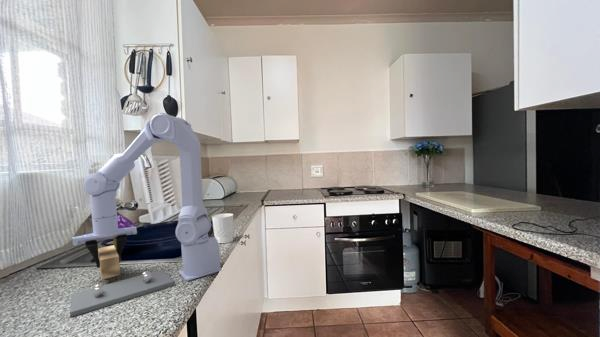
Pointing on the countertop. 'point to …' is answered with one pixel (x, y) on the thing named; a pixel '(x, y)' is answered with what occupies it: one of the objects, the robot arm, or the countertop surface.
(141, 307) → the countertop surface
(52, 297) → the countertop surface
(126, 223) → the decorative mushroom
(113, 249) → the board
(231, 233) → the white cup
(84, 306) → the flat gray rectangular plate
